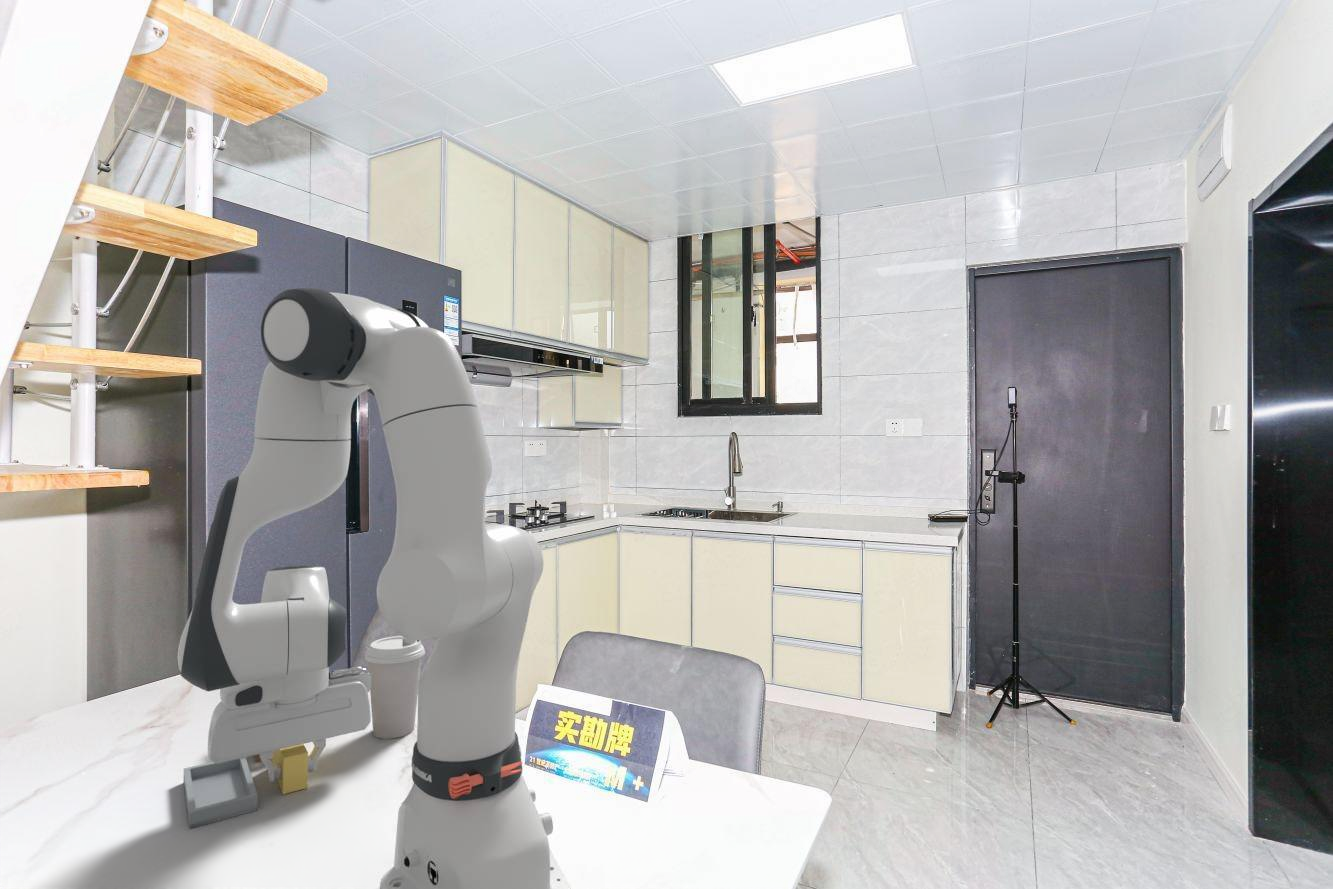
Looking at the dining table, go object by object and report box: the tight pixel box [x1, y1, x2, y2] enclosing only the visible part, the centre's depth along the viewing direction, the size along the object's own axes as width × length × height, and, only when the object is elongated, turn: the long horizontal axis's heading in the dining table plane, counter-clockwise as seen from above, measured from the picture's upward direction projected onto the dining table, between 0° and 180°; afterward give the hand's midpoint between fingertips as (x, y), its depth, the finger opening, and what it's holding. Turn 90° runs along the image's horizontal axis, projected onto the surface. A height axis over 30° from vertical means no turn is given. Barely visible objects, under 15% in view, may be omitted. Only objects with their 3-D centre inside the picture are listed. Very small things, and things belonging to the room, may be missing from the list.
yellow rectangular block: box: [271, 744, 309, 795], centre depth 98 cm, size 10×3×5 cm, turn 38°
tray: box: [183, 757, 259, 830], centre depth 93 cm, size 14×7×2 cm, turn 38°
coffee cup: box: [364, 635, 426, 740], centre depth 115 cm, size 10×10×15 cm
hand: (292, 775), depth 96 cm, fingers closed on yellow rectangular block, 3 cm apart
